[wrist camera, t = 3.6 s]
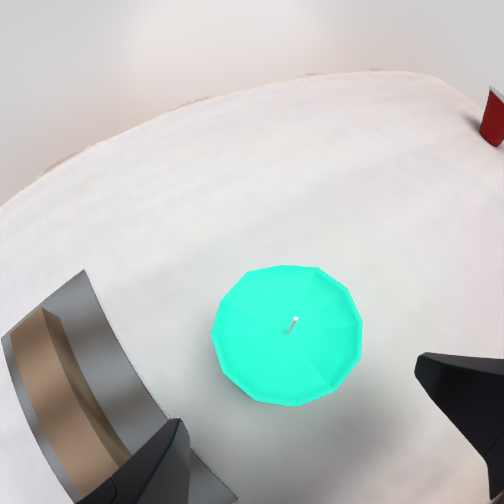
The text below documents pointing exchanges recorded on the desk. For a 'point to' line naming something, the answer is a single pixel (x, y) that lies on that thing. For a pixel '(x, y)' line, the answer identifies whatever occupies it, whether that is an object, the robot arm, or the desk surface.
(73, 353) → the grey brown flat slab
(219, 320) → the candle
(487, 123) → the plastic cup
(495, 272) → the desk surface
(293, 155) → the desk surface
